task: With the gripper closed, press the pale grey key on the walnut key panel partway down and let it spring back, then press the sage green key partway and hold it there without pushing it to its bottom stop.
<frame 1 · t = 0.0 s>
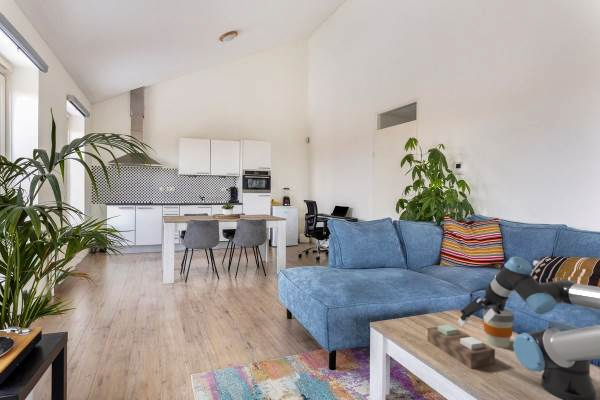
hand: (473, 321, 142), 15 cm above the table, fingers open, 13 cm apart
sage key: (447, 333, 155), point 5 cm above the table, slide at 0.2 cm
key panel: (458, 351, 148), on the table
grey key: (471, 346, 141), point 5 cm above the table, slide at 0.1 cm
reusable coffee cup: (497, 343, 156), on the table
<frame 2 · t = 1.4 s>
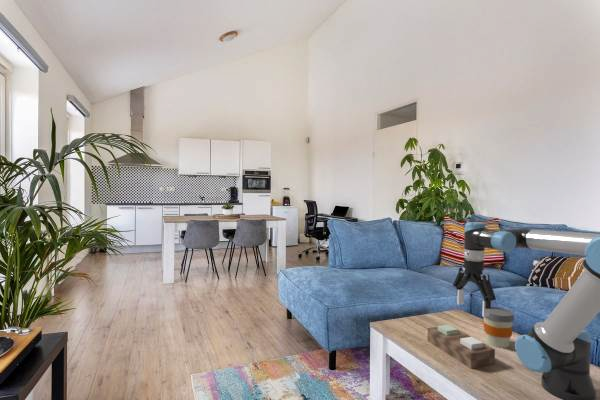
hand: (472, 310, 141), 21 cm above the table, fingers open, 13 cm apart
nothing on the table moved.
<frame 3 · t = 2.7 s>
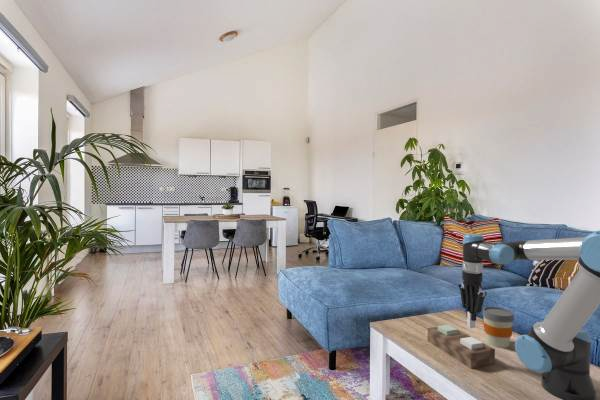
hand: (471, 327, 141), 13 cm above the table, fingers closed
nothing on the table moved.
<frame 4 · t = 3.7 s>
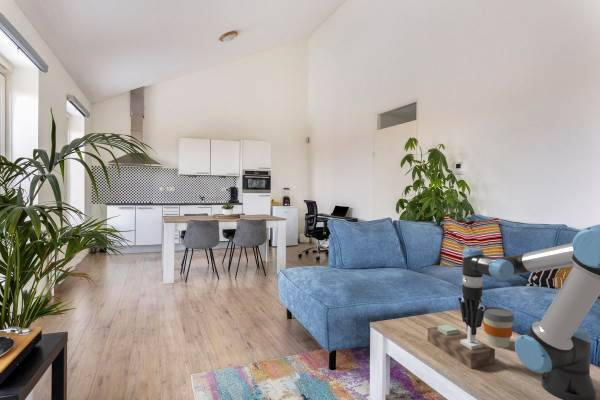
hand: (471, 341, 141), 8 cm above the table, fingers closed
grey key: (471, 347, 141), point 5 cm above the table, slide at 0.7 cm, touching gripper
everything else where it was.
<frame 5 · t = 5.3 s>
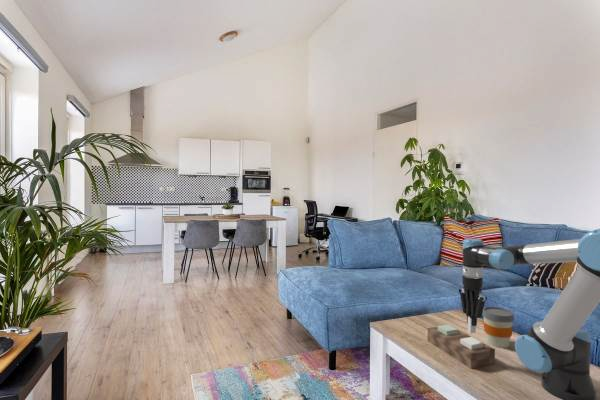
hand: (471, 332, 141), 11 cm above the table, fingers closed
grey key: (471, 346, 141), point 5 cm above the table, slide at 0.2 cm
everything else where it was.
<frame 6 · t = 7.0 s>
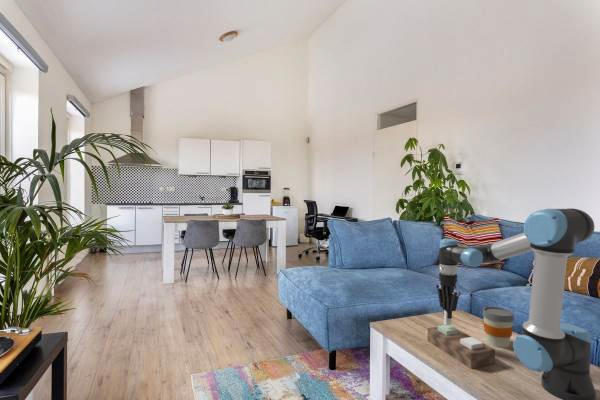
hand: (447, 324, 155), 9 cm above the table, fingers closed
nothing on the table moved.
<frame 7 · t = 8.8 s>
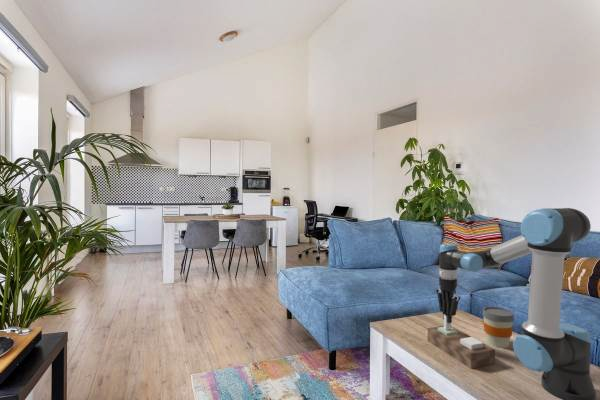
hand: (447, 328, 155), 7 cm above the table, fingers closed
sage key: (447, 334, 155), point 5 cm above the table, slide at 1.0 cm, touching gripper
everything else where it was.
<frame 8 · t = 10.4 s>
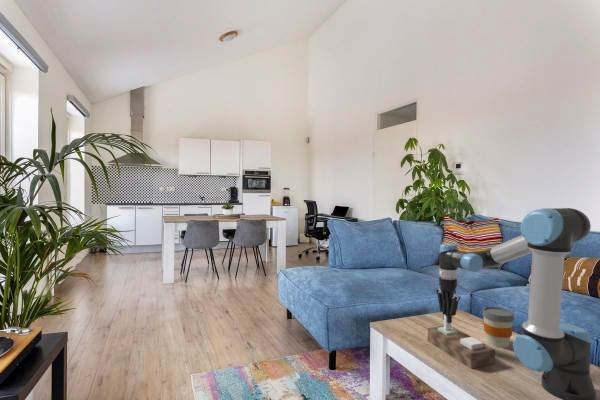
hand: (447, 328, 155), 7 cm above the table, fingers closed
nothing on the table moved.
at the end: sage key slide at 1.0 cm; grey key slide at 0.2 cm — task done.
